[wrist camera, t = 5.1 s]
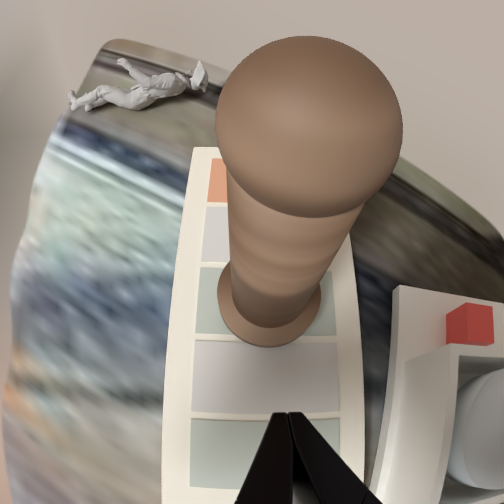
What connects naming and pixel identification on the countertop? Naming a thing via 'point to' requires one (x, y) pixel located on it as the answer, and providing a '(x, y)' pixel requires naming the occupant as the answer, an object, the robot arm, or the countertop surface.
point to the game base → (432, 393)
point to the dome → (479, 433)
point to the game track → (248, 361)
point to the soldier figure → (140, 89)
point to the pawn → (297, 176)
